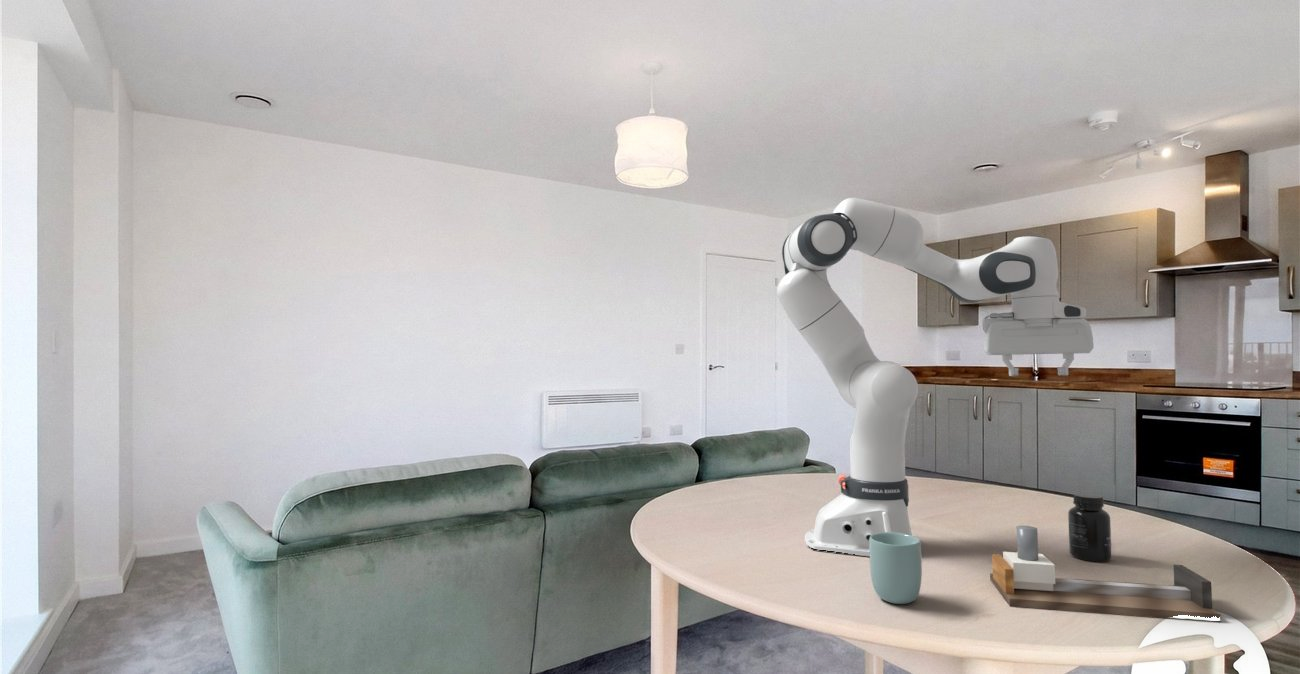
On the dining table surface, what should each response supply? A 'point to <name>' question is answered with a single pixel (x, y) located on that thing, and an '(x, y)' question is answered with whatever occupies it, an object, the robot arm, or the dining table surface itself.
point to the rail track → (1112, 594)
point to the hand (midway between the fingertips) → (1038, 375)
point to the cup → (895, 566)
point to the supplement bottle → (1089, 529)
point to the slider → (1030, 562)
